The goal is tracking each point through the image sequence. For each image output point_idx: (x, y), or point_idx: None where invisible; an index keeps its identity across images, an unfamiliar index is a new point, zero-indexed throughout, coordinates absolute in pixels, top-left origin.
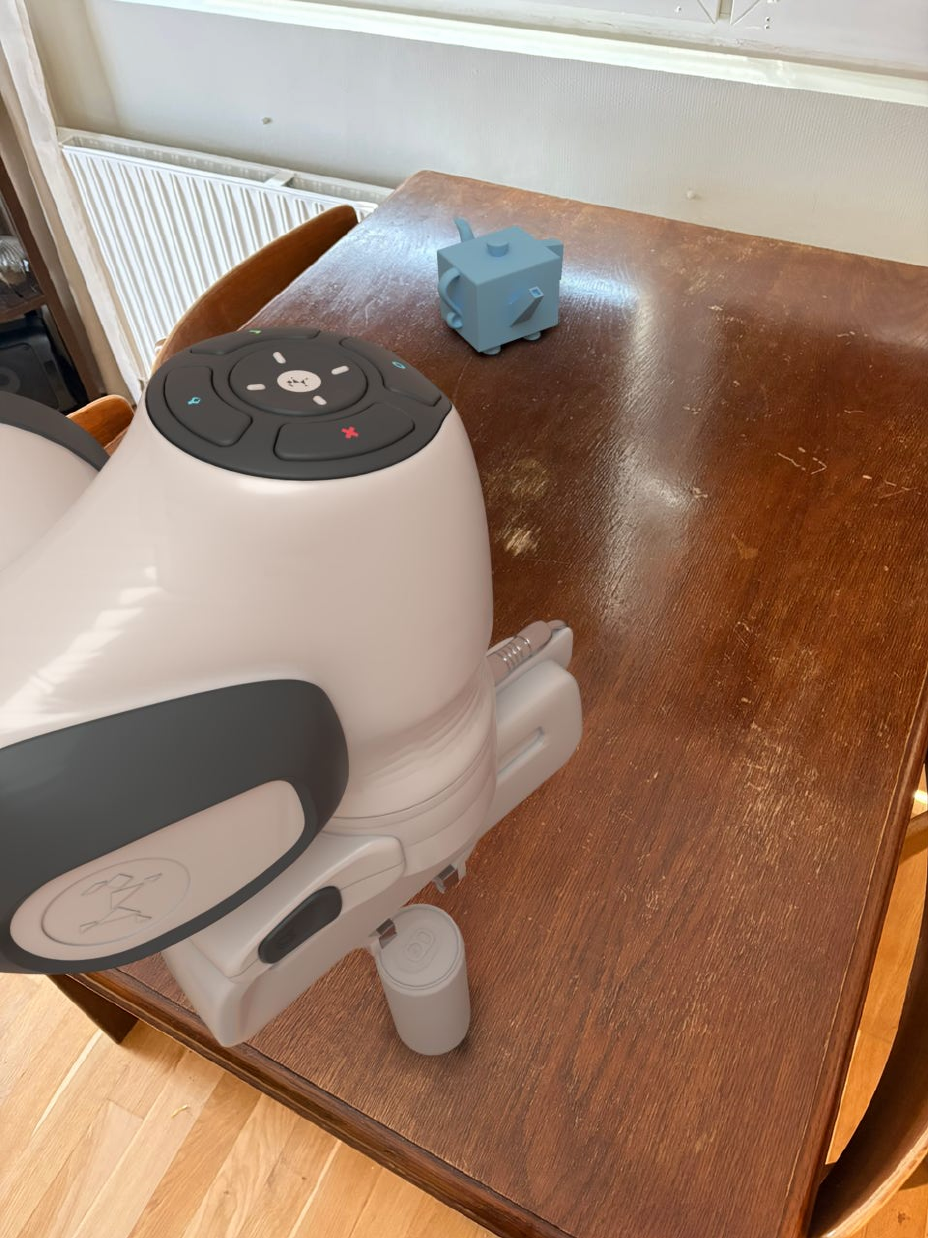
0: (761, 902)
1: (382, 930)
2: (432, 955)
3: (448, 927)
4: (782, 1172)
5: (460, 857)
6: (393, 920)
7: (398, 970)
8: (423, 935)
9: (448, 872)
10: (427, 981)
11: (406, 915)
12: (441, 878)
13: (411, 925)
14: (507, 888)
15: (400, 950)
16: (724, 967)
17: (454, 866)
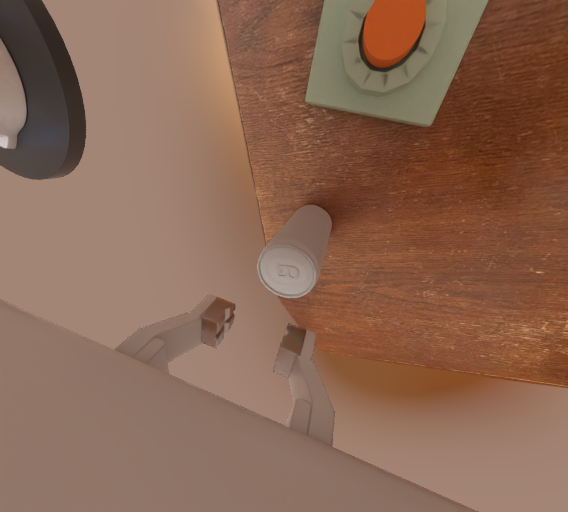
0: (449, 336)
1: (206, 342)
2: (286, 282)
3: (308, 283)
4: (333, 350)
5: (293, 395)
6: (290, 248)
7: (265, 268)
8: (294, 271)
9: (283, 373)
10: (271, 286)
11: (298, 255)
12: (274, 369)
13: (294, 262)
14: (401, 222)
15: (276, 263)
16: (404, 327)
17: (289, 380)
